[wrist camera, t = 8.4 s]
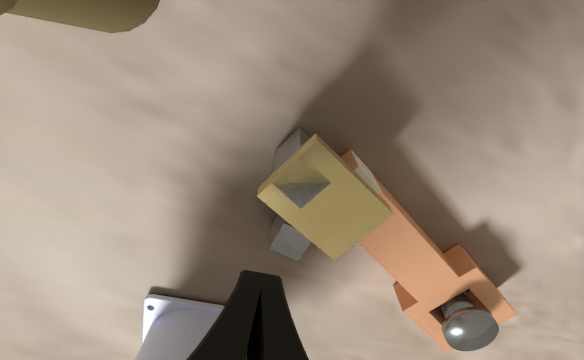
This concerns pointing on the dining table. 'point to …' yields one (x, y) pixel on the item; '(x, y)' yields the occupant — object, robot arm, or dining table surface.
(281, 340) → the robot arm
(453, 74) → the dining table surface
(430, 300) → the link
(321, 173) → the stand
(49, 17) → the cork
